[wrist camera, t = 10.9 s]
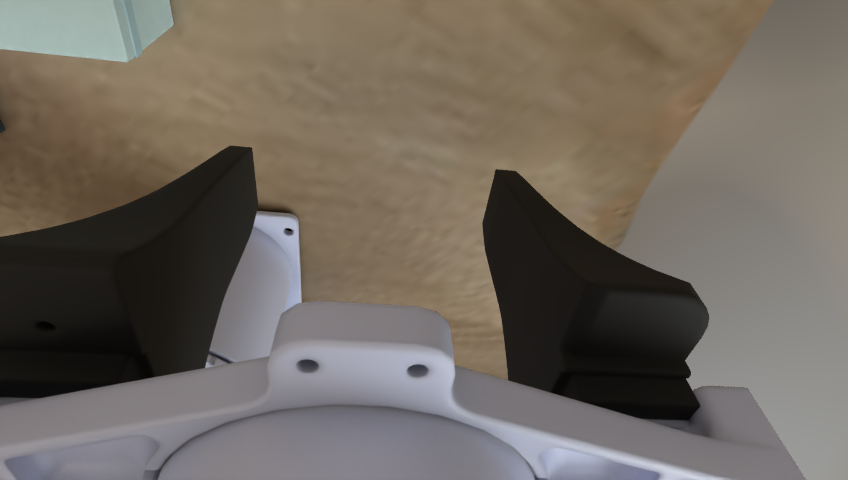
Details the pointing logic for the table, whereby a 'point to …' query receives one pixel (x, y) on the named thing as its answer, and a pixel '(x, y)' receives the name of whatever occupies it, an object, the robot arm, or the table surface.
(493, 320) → the table surface
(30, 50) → the case
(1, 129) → the tray
